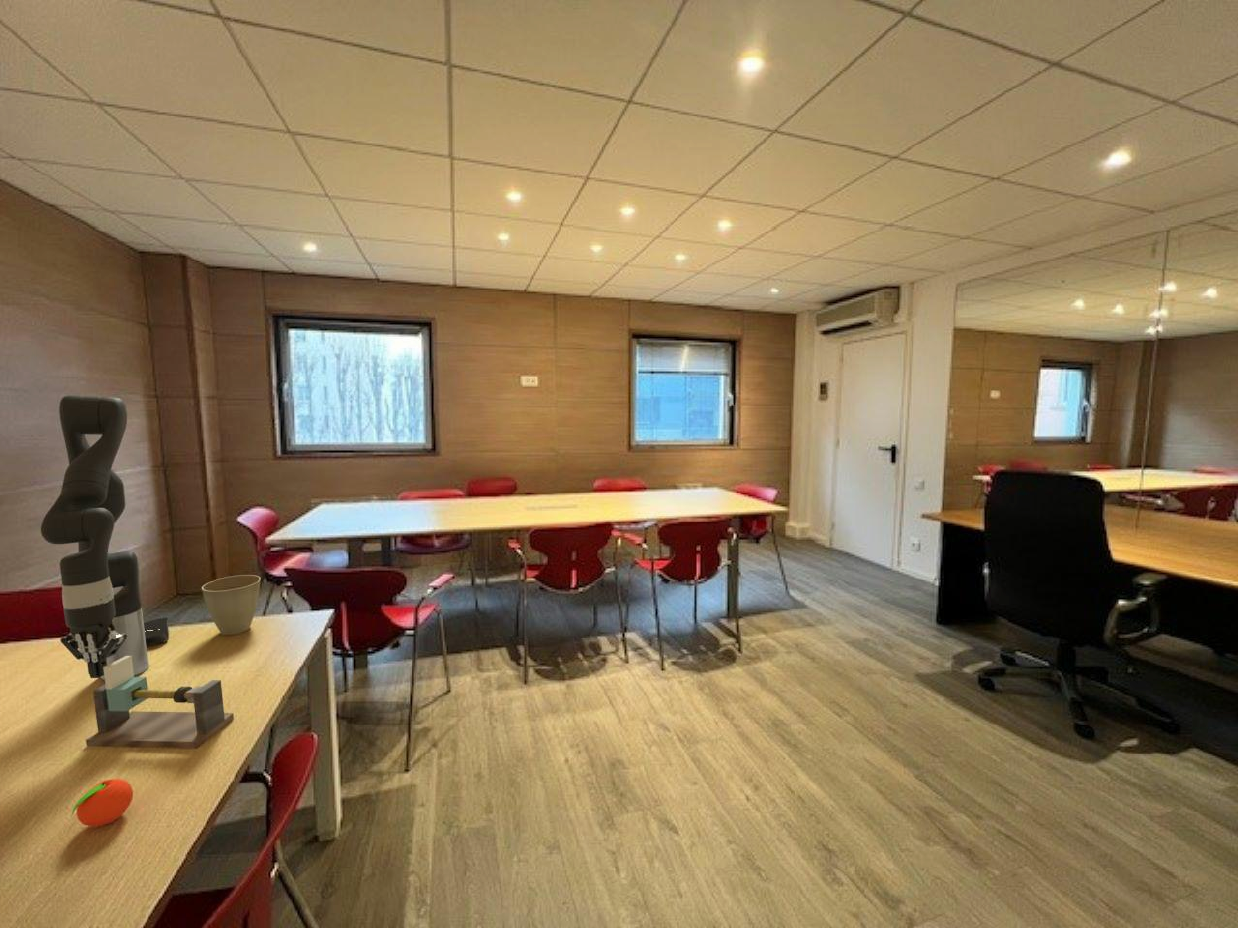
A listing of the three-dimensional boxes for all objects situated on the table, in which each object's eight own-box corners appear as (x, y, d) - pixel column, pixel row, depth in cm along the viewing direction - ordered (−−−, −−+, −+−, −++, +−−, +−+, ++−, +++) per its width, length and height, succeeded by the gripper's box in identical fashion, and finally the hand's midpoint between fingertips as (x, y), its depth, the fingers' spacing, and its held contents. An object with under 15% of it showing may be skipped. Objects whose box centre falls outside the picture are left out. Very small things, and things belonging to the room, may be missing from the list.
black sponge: (169, 644, 154) (168, 632, 153) (131, 652, 148) (129, 641, 148) (169, 626, 166) (168, 615, 166) (133, 634, 160) (132, 623, 160)
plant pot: (227, 644, 153) (222, 593, 151) (195, 636, 158) (190, 587, 156) (275, 624, 167) (271, 577, 165) (244, 617, 172) (240, 572, 170)
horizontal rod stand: (86, 746, 108) (80, 697, 106) (132, 717, 118) (127, 672, 116) (197, 748, 107) (191, 699, 106) (233, 718, 117) (229, 674, 116)
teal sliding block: (108, 710, 109) (103, 667, 108) (131, 697, 114) (126, 655, 113) (126, 711, 109) (121, 667, 108) (148, 697, 114) (143, 655, 113)
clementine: (88, 846, 83) (83, 807, 83) (60, 836, 85) (55, 798, 84) (145, 809, 91) (140, 772, 90) (118, 800, 93) (113, 765, 92)
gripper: (38, 607, 105) (50, 685, 107) (100, 607, 105) (110, 686, 107) (78, 593, 113) (87, 666, 115) (135, 594, 112) (144, 667, 115)
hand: (98, 676), depth 111 cm, fingers closed
